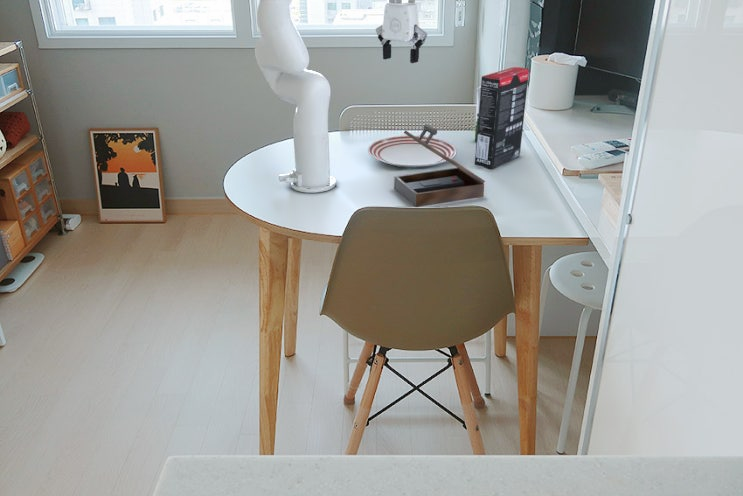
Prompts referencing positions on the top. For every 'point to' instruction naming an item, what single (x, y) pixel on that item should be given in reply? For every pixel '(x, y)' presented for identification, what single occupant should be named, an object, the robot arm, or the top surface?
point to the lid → (433, 132)
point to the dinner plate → (410, 151)
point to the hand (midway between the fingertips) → (400, 60)
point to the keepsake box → (467, 191)
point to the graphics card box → (501, 117)
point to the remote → (436, 184)
